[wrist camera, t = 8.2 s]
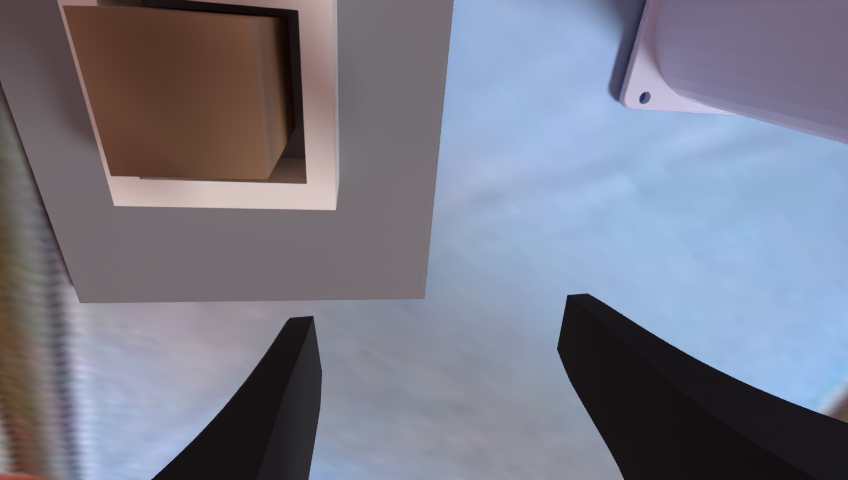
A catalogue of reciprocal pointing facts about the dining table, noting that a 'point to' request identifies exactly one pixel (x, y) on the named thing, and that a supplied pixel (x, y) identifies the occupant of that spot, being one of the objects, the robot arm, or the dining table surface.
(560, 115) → the dining table surface
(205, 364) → the dining table surface
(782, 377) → the dining table surface
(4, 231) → the dining table surface
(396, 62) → the socket
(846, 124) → the robot arm
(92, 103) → the brown rectangular block
